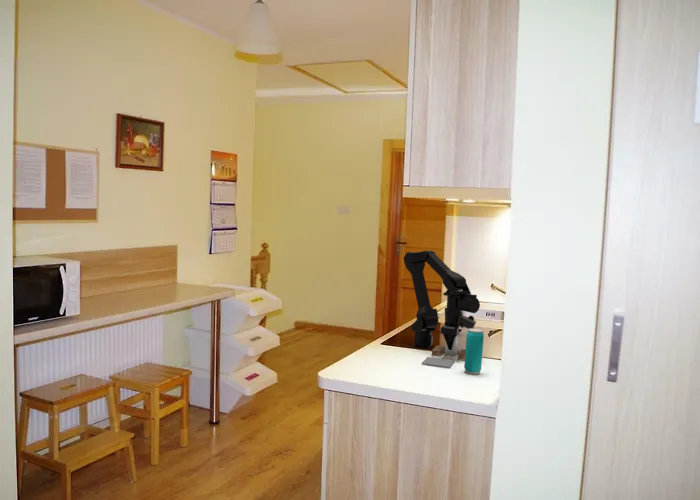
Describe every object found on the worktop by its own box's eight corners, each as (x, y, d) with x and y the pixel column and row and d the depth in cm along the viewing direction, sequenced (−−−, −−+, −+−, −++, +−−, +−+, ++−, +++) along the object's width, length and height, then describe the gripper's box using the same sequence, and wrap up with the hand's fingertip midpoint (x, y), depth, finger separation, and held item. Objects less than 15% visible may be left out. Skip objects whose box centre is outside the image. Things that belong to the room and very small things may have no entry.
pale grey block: (444, 355, 222) (446, 335, 221) (446, 353, 226) (447, 333, 225) (455, 357, 221) (456, 336, 220) (456, 354, 224) (458, 334, 224)
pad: (421, 364, 207) (421, 362, 207) (427, 358, 216) (427, 356, 216) (449, 368, 203) (449, 366, 203) (454, 362, 213) (454, 360, 213)
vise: (431, 355, 221) (432, 350, 221) (436, 350, 230) (436, 345, 229) (478, 361, 215) (478, 356, 215) (481, 356, 224) (481, 351, 224)
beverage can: (481, 371, 202) (485, 329, 201) (479, 376, 196) (483, 332, 195) (465, 369, 203) (468, 327, 202) (462, 373, 198) (465, 330, 197)
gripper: (472, 314, 211) (468, 356, 212) (478, 307, 228) (475, 346, 229) (441, 311, 214) (438, 352, 215) (450, 304, 232) (447, 343, 233)
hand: (451, 348), depth 223 cm, fingers closed on pale grey block, 4 cm apart
